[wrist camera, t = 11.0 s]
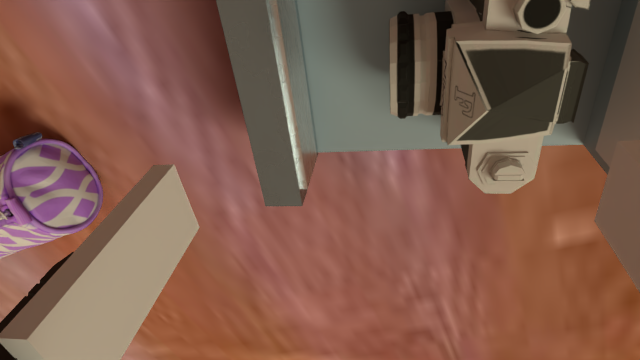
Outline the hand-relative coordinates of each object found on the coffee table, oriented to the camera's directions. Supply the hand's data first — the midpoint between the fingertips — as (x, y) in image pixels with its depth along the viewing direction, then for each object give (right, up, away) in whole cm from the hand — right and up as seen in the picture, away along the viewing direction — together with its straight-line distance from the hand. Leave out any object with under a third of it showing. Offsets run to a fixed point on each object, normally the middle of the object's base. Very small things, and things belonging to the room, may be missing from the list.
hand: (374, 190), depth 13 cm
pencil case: (-32, -1, +29) cm, 43 cm away
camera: (+7, +10, +13) cm, 18 cm away
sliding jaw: (-4, +12, +13) cm, 18 cm away
